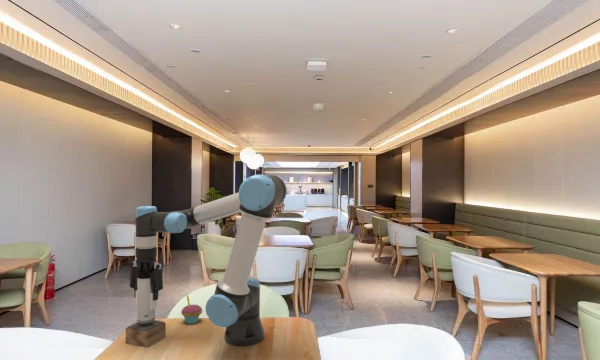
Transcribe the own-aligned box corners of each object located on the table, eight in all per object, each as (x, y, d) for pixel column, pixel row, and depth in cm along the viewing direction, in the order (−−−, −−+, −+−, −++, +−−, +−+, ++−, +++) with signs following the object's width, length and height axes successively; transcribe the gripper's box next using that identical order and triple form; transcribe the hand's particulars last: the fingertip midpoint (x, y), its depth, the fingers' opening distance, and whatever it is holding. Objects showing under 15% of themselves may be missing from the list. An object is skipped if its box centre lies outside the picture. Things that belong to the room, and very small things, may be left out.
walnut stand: (165, 336, 150) (165, 321, 150) (147, 347, 141) (147, 330, 141) (144, 333, 154) (144, 318, 154) (125, 343, 144) (125, 327, 144)
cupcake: (180, 326, 161) (180, 297, 161) (182, 318, 170) (182, 291, 170) (201, 324, 163) (201, 296, 163) (202, 317, 171) (202, 290, 171)
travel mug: (149, 324, 143) (149, 270, 143) (133, 323, 145) (133, 269, 145) (159, 318, 150) (159, 266, 149) (143, 317, 151) (143, 265, 151)
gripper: (173, 246, 147) (173, 307, 147) (133, 243, 154) (133, 301, 154) (160, 250, 140) (160, 313, 140) (118, 247, 147) (118, 307, 147)
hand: (146, 307), depth 147 cm, fingers closed on travel mug, 6 cm apart
